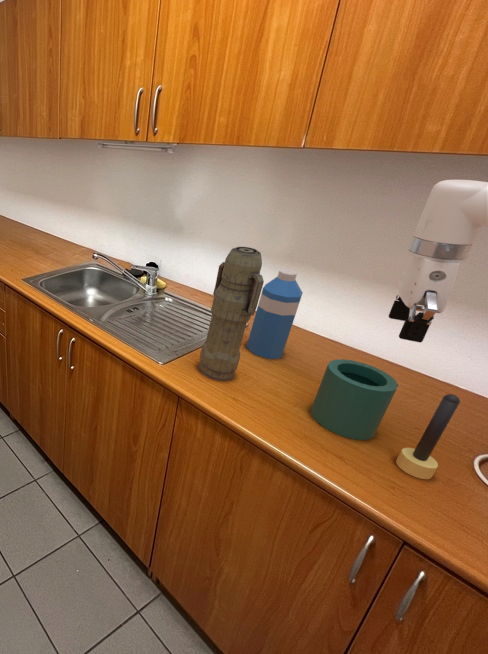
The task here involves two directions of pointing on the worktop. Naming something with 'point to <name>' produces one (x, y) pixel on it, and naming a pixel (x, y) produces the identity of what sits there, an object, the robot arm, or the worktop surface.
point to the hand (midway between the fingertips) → (403, 329)
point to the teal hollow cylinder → (353, 398)
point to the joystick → (428, 442)
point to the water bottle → (275, 315)
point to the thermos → (231, 312)
